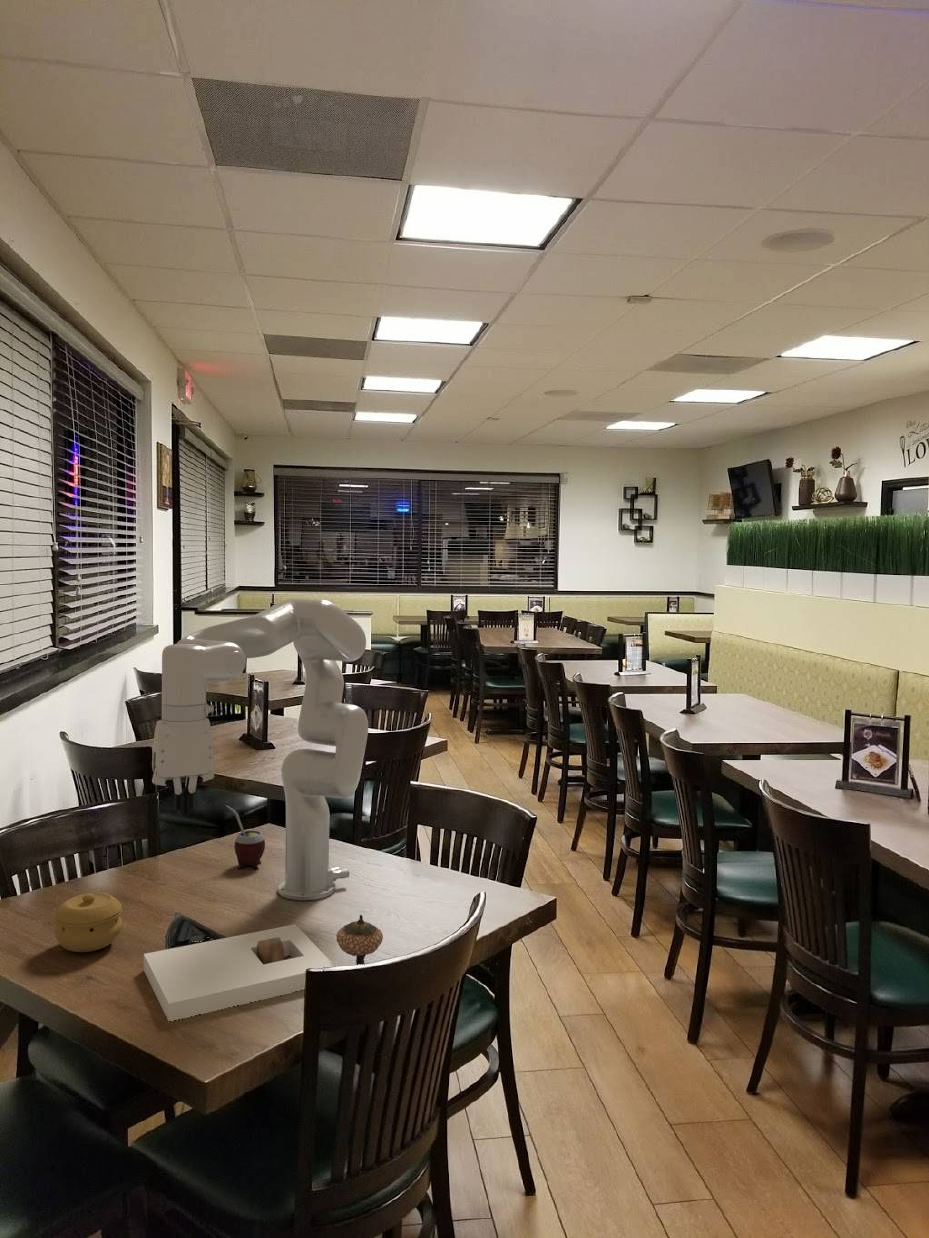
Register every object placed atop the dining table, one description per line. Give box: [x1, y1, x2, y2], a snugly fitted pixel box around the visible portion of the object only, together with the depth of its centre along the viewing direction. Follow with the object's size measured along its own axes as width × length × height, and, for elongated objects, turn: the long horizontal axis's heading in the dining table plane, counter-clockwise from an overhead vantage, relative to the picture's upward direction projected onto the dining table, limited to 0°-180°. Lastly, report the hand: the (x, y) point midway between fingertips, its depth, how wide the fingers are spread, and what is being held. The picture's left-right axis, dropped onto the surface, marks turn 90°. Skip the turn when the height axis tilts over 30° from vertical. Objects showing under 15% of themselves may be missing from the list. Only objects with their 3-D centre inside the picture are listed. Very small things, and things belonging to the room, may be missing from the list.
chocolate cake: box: [164, 912, 228, 950], centre depth 167 cm, size 10×7×12 cm
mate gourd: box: [225, 804, 266, 871], centre depth 210 cm, size 8×8×15 cm
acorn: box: [335, 914, 384, 966], centre depth 159 cm, size 8×8×10 cm
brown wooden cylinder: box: [257, 937, 285, 965], centre depth 159 cm, size 5×5×4 cm
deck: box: [143, 924, 335, 1022], centre depth 155 cm, size 28×20×3 cm
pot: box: [53, 892, 123, 953], centre depth 165 cm, size 12×12×10 cm
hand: (183, 813), depth 159 cm, fingers closed
